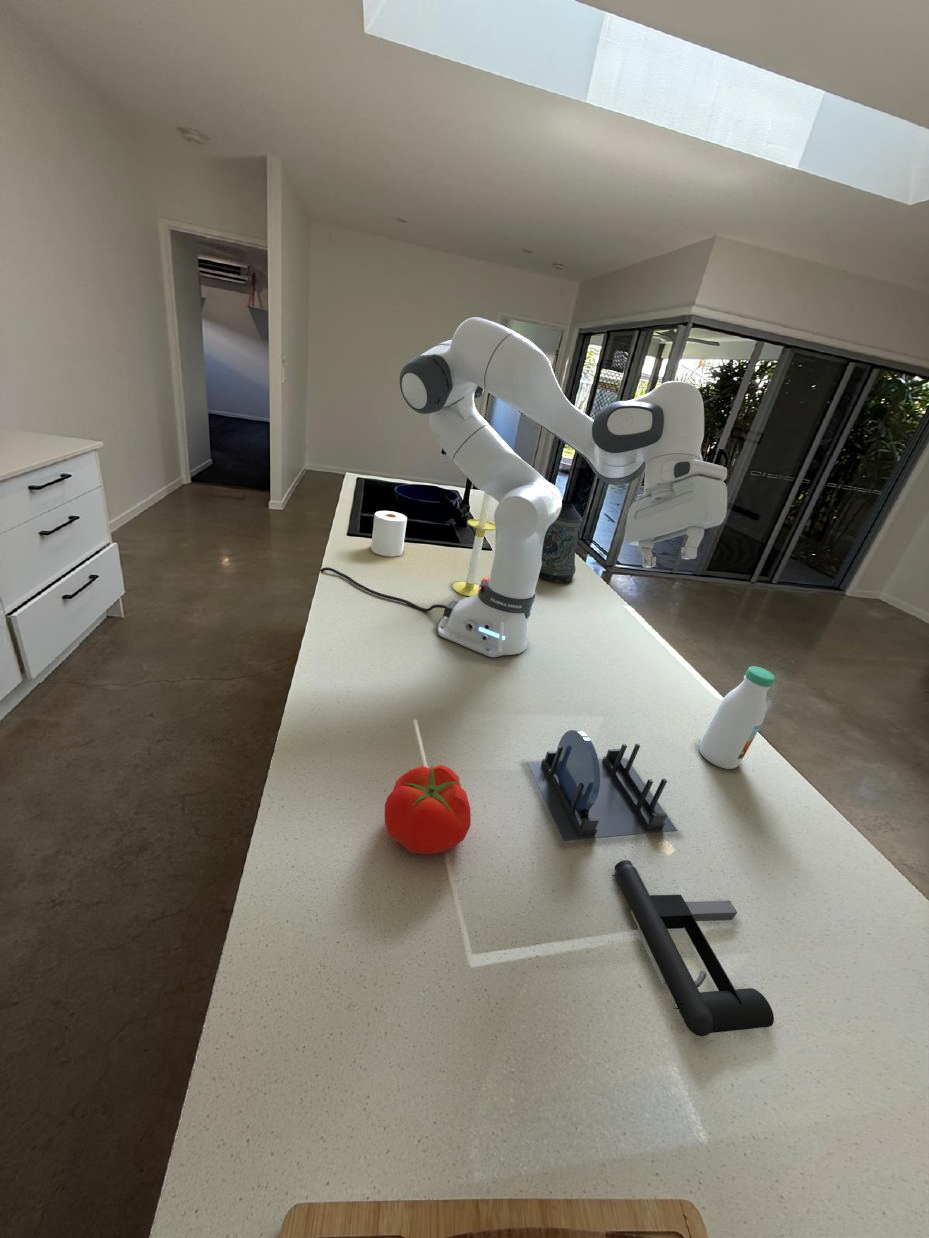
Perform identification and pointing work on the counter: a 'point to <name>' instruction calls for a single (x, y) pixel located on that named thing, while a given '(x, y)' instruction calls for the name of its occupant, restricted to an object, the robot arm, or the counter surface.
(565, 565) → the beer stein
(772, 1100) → the counter surface
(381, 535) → the toilet paper
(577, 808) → the plate
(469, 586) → the candle
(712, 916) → the door handle
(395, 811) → the tomato
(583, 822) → the rack
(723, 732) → the milk bottle
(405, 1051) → the counter surface
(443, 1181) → the counter surface
